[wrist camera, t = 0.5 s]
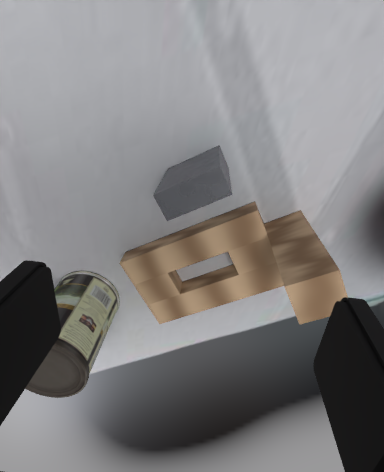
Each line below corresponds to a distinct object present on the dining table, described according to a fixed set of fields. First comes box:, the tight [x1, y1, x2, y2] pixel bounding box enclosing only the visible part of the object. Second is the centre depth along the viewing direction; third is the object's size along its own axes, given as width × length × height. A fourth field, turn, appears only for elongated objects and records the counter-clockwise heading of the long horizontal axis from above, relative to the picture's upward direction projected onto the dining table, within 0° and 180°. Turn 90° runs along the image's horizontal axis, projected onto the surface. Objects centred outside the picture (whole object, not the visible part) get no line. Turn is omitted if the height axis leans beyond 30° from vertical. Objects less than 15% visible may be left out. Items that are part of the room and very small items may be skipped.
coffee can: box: [25, 271, 119, 398], centre depth 42 cm, size 10×10×14 cm
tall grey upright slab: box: [153, 146, 232, 221], centre depth 33 cm, size 7×3×10 cm, turn 115°
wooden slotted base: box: [120, 202, 348, 324], centre depth 37 cm, size 25×12×14 cm, turn 115°
